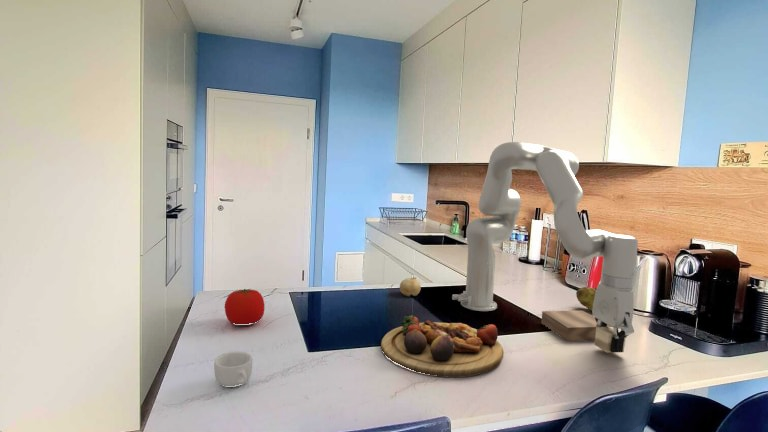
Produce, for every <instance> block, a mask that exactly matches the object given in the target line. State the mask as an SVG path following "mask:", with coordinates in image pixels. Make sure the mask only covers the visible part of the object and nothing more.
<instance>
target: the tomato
mask: <svg viewBox="0 0 768 432" xmlns="http://www.w3.org/2000/svg"><path fill="white" fill-rule="evenodd" d="M224 301H225V302H224V313H225V317H226V318H227V319H226V320H228V321H230V322H231V323H230V322H229V323H230V324H232V323H235V324H249V323H255V322H257V321H258V322H260V321H261V320H260V319H262V318H263V316H264V314H265V300H264V298H263V294H262V293H261V292H259V291H258V290H255V289H251V288H248V289H246V288H244V289H237V290H234V291H232V292H231V293H230V294H229V295H228V296H227V298H226V300H224ZM259 320H260V321H259ZM258 322H257V323H258ZM255 324H256V323H255Z"/></svg>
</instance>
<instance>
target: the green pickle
mask: <svg viewBox="0 0 768 432" xmlns="http://www.w3.org/2000/svg"><path fill="white" fill-rule="evenodd" d="M575 293H576V294H575V296H576V299H577V301H578V302H579V304H580V305H582V306H583V307H585V308H586V309H588V310H589V311H591V312H592V310H593V303H594V298H595V293H596V289H595V288H593V287H590V286H589V287H588V286H584V287H581V288H578V289H577V291H575Z"/></svg>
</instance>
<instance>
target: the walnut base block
mask: <svg viewBox="0 0 768 432" xmlns="http://www.w3.org/2000/svg"><path fill="white" fill-rule="evenodd" d="M596 324H597V322H596V320H595V317H594V316H593V314H592V315H591V314H590V313H588V312H586V311H584V310H542V311H541V325H543V326H544V325H545V327H546V328H547V327H548V328H547V329H549V330H550V329H551V330H550V331H551V332H553V331H554V332H553V333H555V334H556V333H557V334H558V336H559V335H560V336H561V337H560V336H559V337H560V338H562V339H563V338H564V339H563V340H565V341H566V342H578V341H580V340H581V342H582V341H583V340H586V341H595V335H596ZM608 327H611V326H609V325H608ZM557 334H556V335H557ZM583 342H584V341H583Z"/></svg>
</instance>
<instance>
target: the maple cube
mask: <svg viewBox="0 0 768 432" xmlns="http://www.w3.org/2000/svg"><path fill="white" fill-rule="evenodd" d="M620 331H621V330H619V329H618V332H620ZM612 337H614V331H613V327H596V335H595V340H594V346H596V347H598V348H599V349H600V350H602V351H603V352H605V353H606V354H609V353H617V352H611V351H610V350H611V341H612ZM625 345H626V338H624V344H623V351H622V352H621V353H624V352H625Z"/></svg>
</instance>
